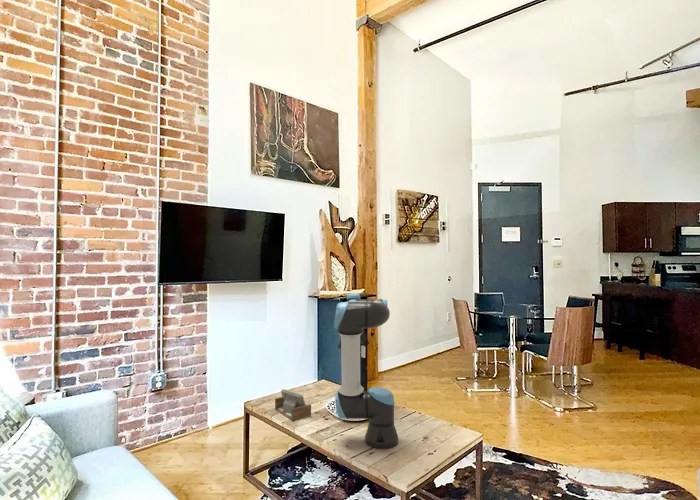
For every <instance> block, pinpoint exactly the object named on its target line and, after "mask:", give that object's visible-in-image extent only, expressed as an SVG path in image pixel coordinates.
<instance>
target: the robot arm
mask: <svg viewBox="0 0 700 500" xmlns="http://www.w3.org/2000/svg"><path fill="white" fill-rule="evenodd" d="M390 315H391V312H390V309H389V307H388V299H382V298H380V299H378V298H377V299H375V298H374V299H372V298H371V299H369V298H368V299H363V298H362V299H361V294H360V293H349V294H347V295H346V301H344V302H343V301H341V302H338V303H337V304H336V309H335V317H334V325H333V327H334V329H335V330H337V334H339V336H340V341H339V343H338V345H337V348H338V349H340V357H341V362H340V364H341V365H340V366H341V374H340V375H341V385H340V386H339V387H338V390H337V391H335V394H334V401H335V410H336V414H337V417H338V418H339V419H346V420H359V419H360V420H368V426H367V428H366V432H365V435H364V442H365V444H366V445H367V446H369V447H371V448H374V449H379V450H380V449H381V450H383V449H391V448H394V447H395V446H397V445H398V443H399V435H398V433H397V430H396V426H395V410H394V409H395V400H394V399H395V398H394V394H393V392H392V391H391V390H389V389H387V388H383V387H378V386H374V387H370V388H369V389H368V391H365V390H364V389H365V388H364V387H363V386H362V385H361V358H364V359H365V358H366V352H367V347H368V346H369V344H370V341H369V339H368V337H367V335H366V334H367V333H366V331H365V329H374V328H378V327H380V326H383V325H384V324H385V323H386V322H388V321H389V319H390ZM361 344H362V345H361Z"/></svg>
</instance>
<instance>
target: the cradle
mask: <svg viewBox="0 0 700 500" xmlns="http://www.w3.org/2000/svg"><path fill="white" fill-rule="evenodd" d="M283 402H284V399H283V396H281V397H276V398H275V399H274V410H275V411H276V410H277V411H276V412H278V413H279V412H280V413H279V414H281V415H282V414H283V416H284V417H286V418H287V419H288V420H290V421H291V422H295V421H299V420H303V419H307V418H310V417H312V404H309V403H308V404H306V405H305V406H301V407H297V408H293V409H292V414H291V413H288V412H285V411H283Z"/></svg>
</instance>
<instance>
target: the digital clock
mask: <svg viewBox="0 0 700 500" xmlns="http://www.w3.org/2000/svg"><path fill="white" fill-rule="evenodd" d="M281 395H282V396H281V397H283V399H284V402H283V411H285V412H288V413H291V414H292V409H293V408H297V407H301V406H305V405H307V404H306V401H305V399H304V396H303V394H302V393H299V392H296V391H293V390H288V389H285V388H284V389H283V388H282V389H281Z"/></svg>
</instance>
